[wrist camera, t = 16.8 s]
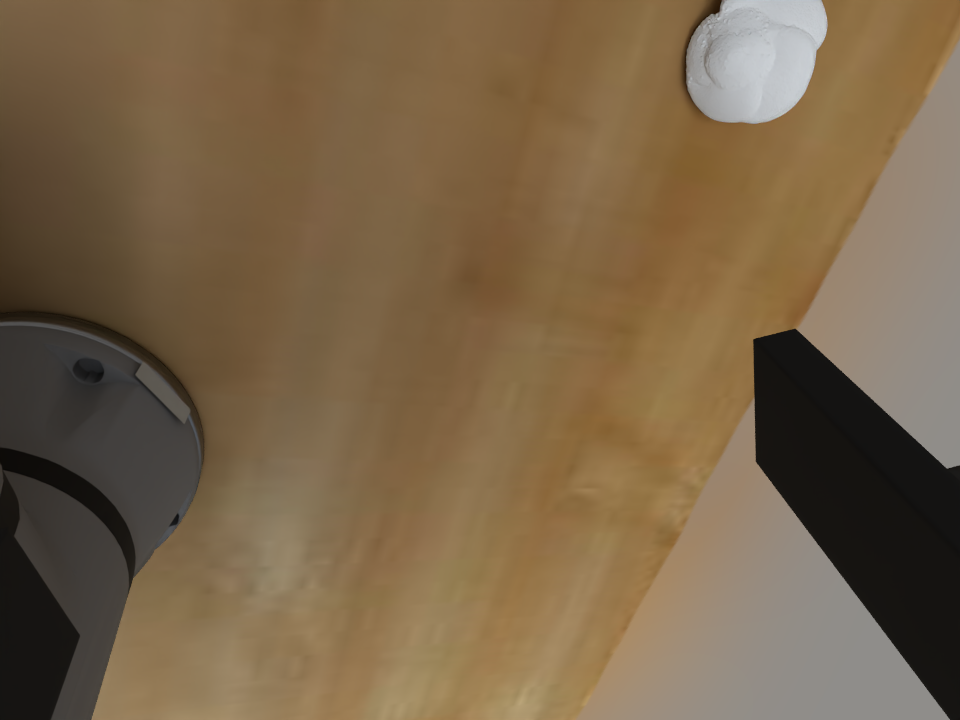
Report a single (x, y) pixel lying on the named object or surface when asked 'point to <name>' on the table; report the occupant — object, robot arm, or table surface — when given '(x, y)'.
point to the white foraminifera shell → (754, 58)
